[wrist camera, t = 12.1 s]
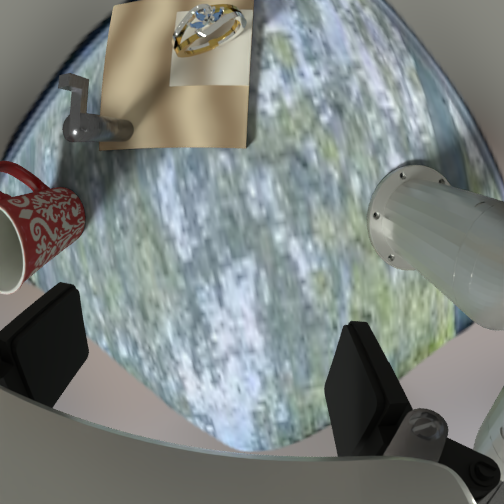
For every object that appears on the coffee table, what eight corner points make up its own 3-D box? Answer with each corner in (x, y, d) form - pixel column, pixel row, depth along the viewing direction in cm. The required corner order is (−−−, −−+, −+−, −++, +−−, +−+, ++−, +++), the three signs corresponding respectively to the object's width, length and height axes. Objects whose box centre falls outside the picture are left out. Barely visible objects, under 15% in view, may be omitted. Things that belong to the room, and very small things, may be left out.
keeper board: (254, -2, 25) (254, -9, 24) (246, 148, 31) (245, 148, 29) (118, 10, 25) (112, 4, 24) (105, 150, 31) (97, 150, 29)
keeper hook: (135, 93, 28) (77, 71, 16) (133, 141, 29) (73, 140, 18) (115, 96, 28) (52, 77, 16) (113, 142, 29) (48, 144, 18)
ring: (240, 21, 25) (235, -14, 18) (252, 45, 26) (252, 14, 18) (177, 48, 26) (154, 21, 18) (189, 72, 27) (168, 49, 19)
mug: (102, 241, 35) (38, 287, 22) (50, 256, 35) (-13, 300, 22) (74, 142, 31) (-2, 147, 18) (25, 167, 31) (-49, 183, 19)
